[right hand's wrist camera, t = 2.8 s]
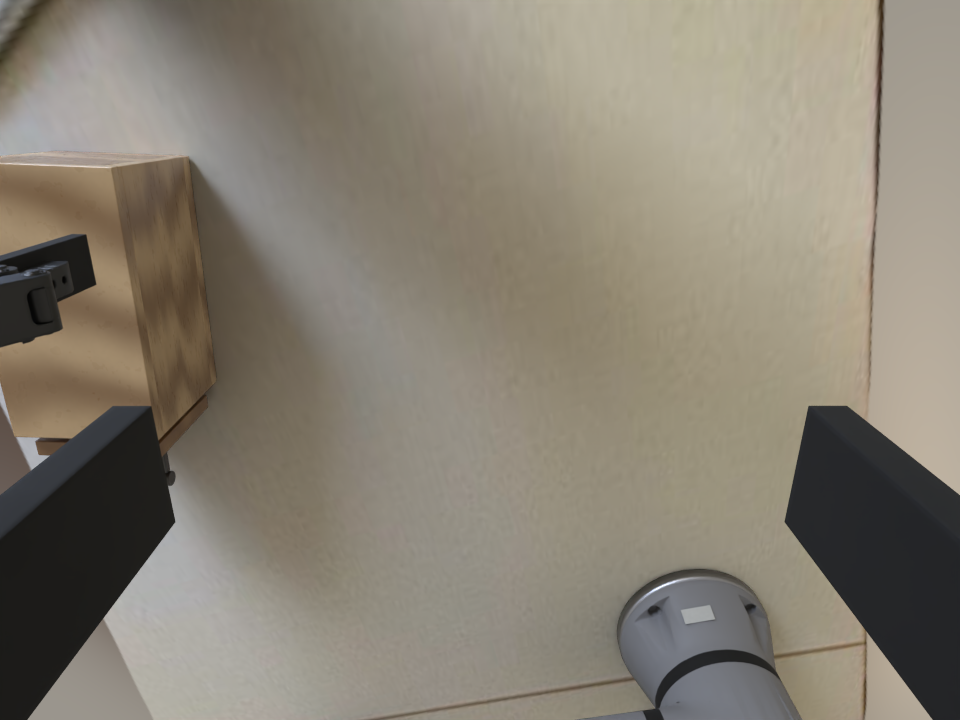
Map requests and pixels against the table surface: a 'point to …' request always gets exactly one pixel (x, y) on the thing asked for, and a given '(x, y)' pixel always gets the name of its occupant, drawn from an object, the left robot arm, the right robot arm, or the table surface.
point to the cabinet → (109, 291)
